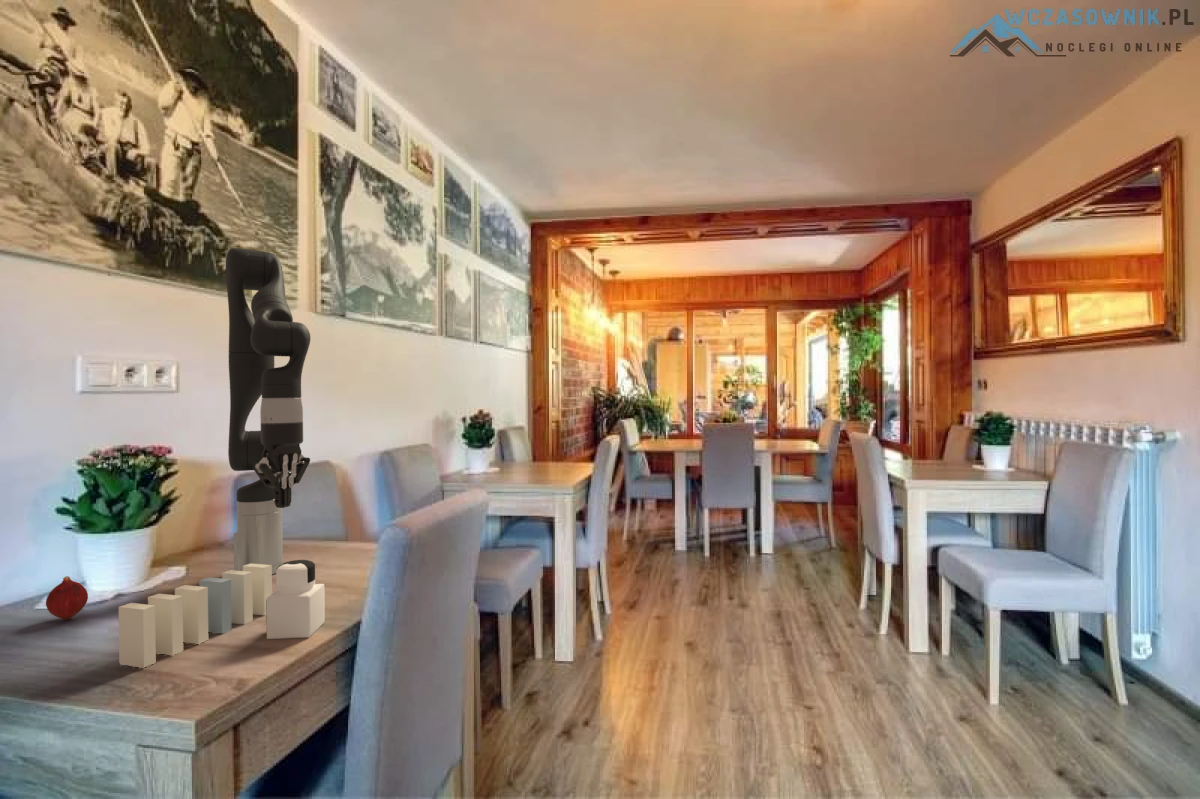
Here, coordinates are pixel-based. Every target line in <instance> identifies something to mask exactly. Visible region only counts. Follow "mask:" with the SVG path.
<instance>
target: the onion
mask: <svg viewBox="0 0 1200 799" xmlns="http://www.w3.org/2000/svg"><path fill="white" fill-rule="evenodd" d="M45 599H46V600H45V606H46V609H47V611H48V613H50V614H51V615H52V616H54V617H57V618H59V619H61V620H64V621H68V620H70V619H72V618H73V617H74V616H76V615H77V614H78V613H79V612H80V611H81V610H83V608H84V607H85V606H86V604H87V603H88V599H89V593H88V590H87V589H86V588H85V586H84V585H83V584H81V583H79V582H77V581H74V580H72V579H71V577H70V576H67V575H66V576H64V577H63V579H62V581H61V582H60V583H59V584H57V585H56V586H54V588H52V589H51V591H50V592H49V593H48V595H47V597H46V598H45Z"/></svg>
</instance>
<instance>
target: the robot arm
mask: <svg viewBox="0 0 1200 799" xmlns="http://www.w3.org/2000/svg"><path fill="white" fill-rule="evenodd" d="M282 266H283V265H282V263H281V260H280V258H279V257H278V256H277V255H276V254H275V253H273V252H270V251H269V252H268V251H263V250H262V251H261V250H256V249H255V250H254V249H246V248H238V247H232V248H230V249H229V250H228V251H227V253H226V257H225V279H226V290H227V291H226V292H227V294H226V295H227V305H228V374H229V375H228V376H229V377H228V379H229V397H230V398H229V399H230V400H229V401H230V402H229V405H230V407H229V426H228V429H229V430H228V432H229V433H228V448H227V449H228V450H227V451H228V454H227V455H228V463H229V466H230V468H231V470H233V471H236V472H243V471H244V472H245V471H246V472H247V471H248V472H249V471H254V472H255V474H256V475H257V476H258V477H259V479H258V480H256V481H253V482H251V483H249V484H245V485H242V486H241V487H239V488H238V489H237V490H236V532H234V533H233V570H235V571H243V566H244V565H247V564H250V563H251V564H264V565H272V575H275V574H276V569H277V567H278V566H280V565H281V564H283V563H284V560H283V559H284V557H283V552H284V551H283V545H284V544H283V543H284V542H283V541H284V540H283V509H284V508H288V507H290V506H291V503H292V488H293V487H294V485H295V484H299V483H300V482H301V480H302V478H303V476H304V474H305V472H306V470H307V469H308V466H309V464H310V462H311V458H310V457H305V456H304V455H303V454H302V449H301V446H300V445H301V444H302V443H303V442H304V411H303V410H304V408H303V403H302V402H303V401H302V373H303V370H304V365H305V360H306V357H307V355H308V351H309V348H310V344H311V333H310V330H309V329H308V327H307V326H306V325H305V324H303V323H301V322H297V321H294V319H293V315H292V312H291V309H290V307H289V305H288V302H287V299H286V288H285V280H284V273H283V267H282ZM245 290H247V291H256V293H255V294H253V296H252V298H251V302H250V306H249V305H248V302H247V300H246V296H245ZM250 308H251V309H250ZM275 357H288V358H289V360H288V361H287V363H286V364H285V365H283V366H277V367H275ZM260 397H261V404H260V410H259V411H260V415H259V416H260V430H246V425H247V422H248V418H249V416H250V415H251V414H250V413H251V412H252V410H253V408H254V407H255V405H256V403H257V401H258V400H259V399H260Z"/></svg>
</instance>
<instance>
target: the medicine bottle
mask: <svg viewBox="0 0 1200 799" xmlns="http://www.w3.org/2000/svg"><path fill="white" fill-rule="evenodd" d="M275 574H276V576H275V577H276V591H274V592H272V595H270V596H269V597H267V598H266V615H265V617H266V618H265V619H266V620H265V622H266V625H265V626H266V639H267V640H281V639H282V640H283V639H305V638H311V636H312V635H314V634H315V632H317V630H318V629H319V628H320V627H321V626H322V625H324V624H325V621H326V619H325V618H326V615H325V614H326V612H325V610H326V608H325V606H326V605H325V603H326V602H325V598H326V597H325V596H326V594H325V584H324V583H316V563H315V562H314V561H312V560H308V559H294V560H290V561H286V562H283V564H281V565H280V566H278V567H277V569H276V573H275Z"/></svg>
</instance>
